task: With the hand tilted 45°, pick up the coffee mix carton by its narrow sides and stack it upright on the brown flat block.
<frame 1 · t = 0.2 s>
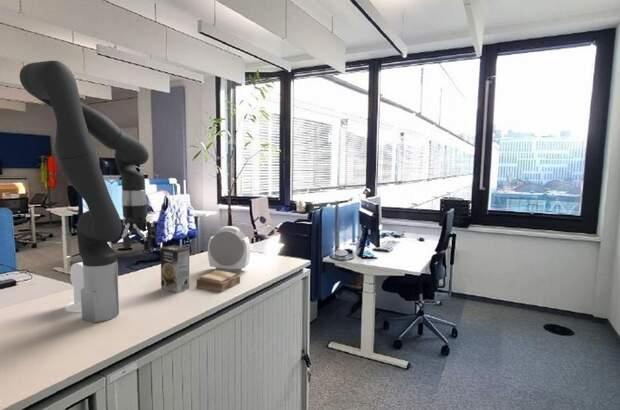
hand: (137, 249, 123), 18 cm above the cabinet, tool pointing down, fingers open, 8 cm apart
alarm clock: (229, 270, 163), on the cabinet
brown flat block: (218, 284, 143), on the cabinet
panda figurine: (86, 306, 120), on the cabinet
coffee box: (175, 289, 138), on the cabinet
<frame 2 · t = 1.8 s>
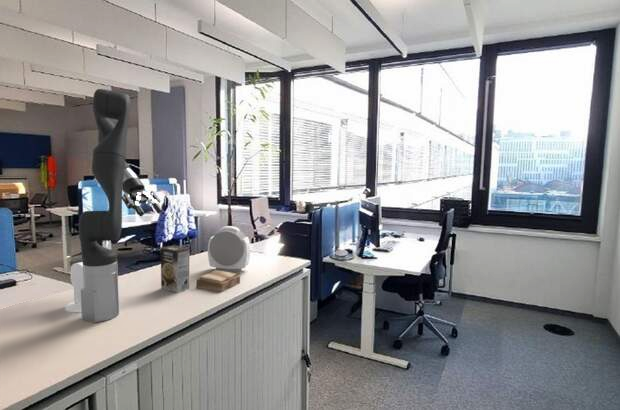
hand: (151, 213, 139), 28 cm above the cabinet, tool tilted 45°, fingers open, 8 cm apart
nothing on the cabinet moved.
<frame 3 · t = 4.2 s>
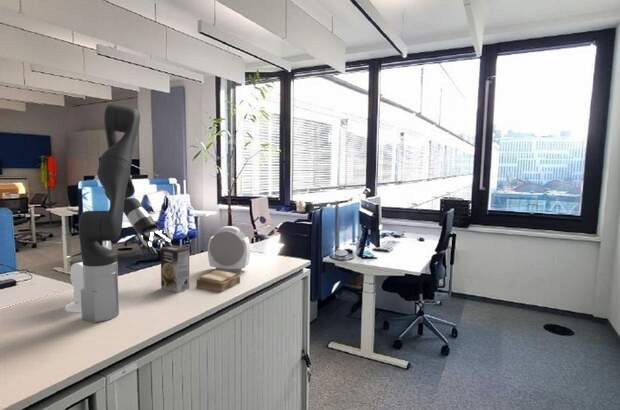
hand: (164, 253, 138), 13 cm above the cabinet, tool tilted 45°, fingers open, 8 cm apart
nothing on the cabinet moved.
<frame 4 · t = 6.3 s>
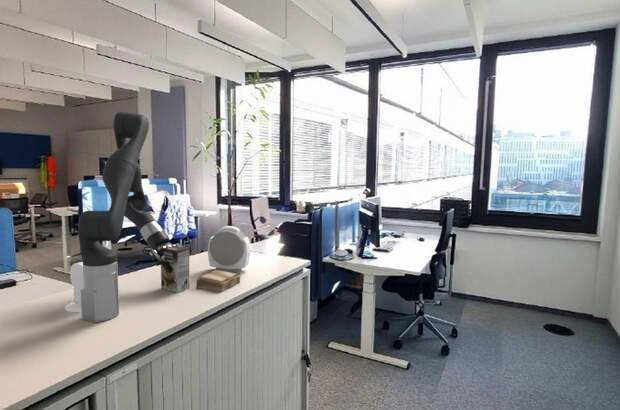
hand: (178, 269, 136), 8 cm above the cabinet, tool tilted 45°, fingers closed on coffee box, 6 cm apart
coffee box: (175, 289, 138), on the cabinet, touching gripper
everything else where it was.
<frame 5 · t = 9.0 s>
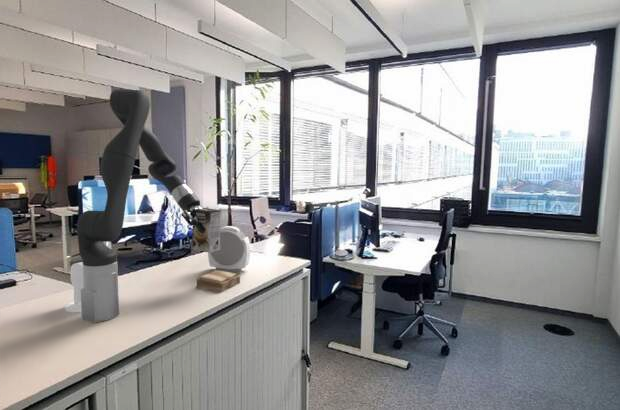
hand: (209, 230, 139), 22 cm above the cabinet, tool tilted 45°, fingers closed on coffee box, 6 cm apart
coffee box: (206, 250, 141), point 14 cm above the cabinet, touching gripper
everything else where it was.
when the fingers open (13 cm above the cabinet, at t = 11.6 s): coffee box drops 1 cm, resting on brown flat block.
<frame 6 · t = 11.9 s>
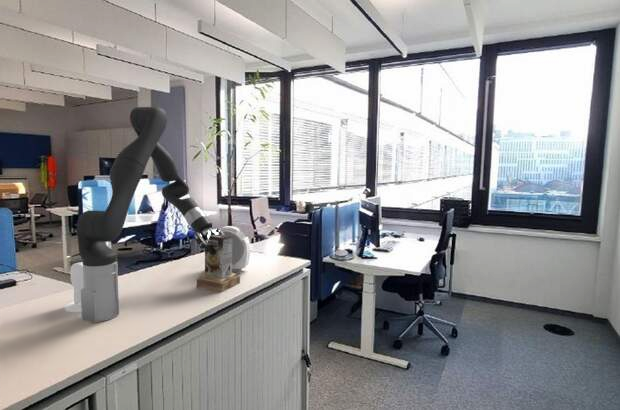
hand: (221, 252, 141), 14 cm above the cabinet, tool tilted 45°, fingers open, 8 cm apart
coffee box: (218, 275, 143), point 4 cm above the cabinet, touching brown flat block
everything else where it was.
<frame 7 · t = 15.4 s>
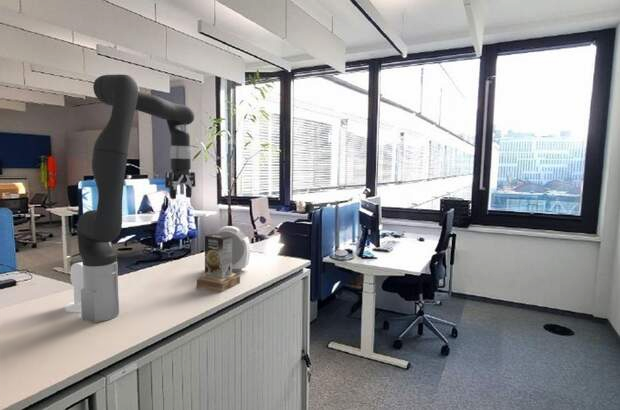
hand: (181, 198, 144), 34 cm above the cabinet, tool pointing down, fingers open, 8 cm apart
nothing on the cabinet moved.
at the end: coffee box inside the target area on the brown flat block (0.4 cm from its centre), point 3.8 cm above the brown flat block's base; coffee box tilted 0°; the gripper is holding nothing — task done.
